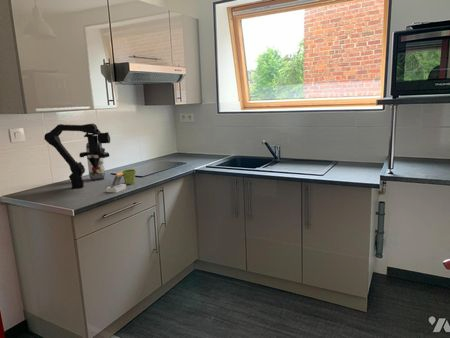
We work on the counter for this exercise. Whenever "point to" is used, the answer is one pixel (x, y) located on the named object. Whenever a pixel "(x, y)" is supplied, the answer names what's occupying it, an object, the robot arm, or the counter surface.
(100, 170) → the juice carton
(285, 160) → the counter surface
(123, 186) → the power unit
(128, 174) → the plant pot
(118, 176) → the rocker lever
